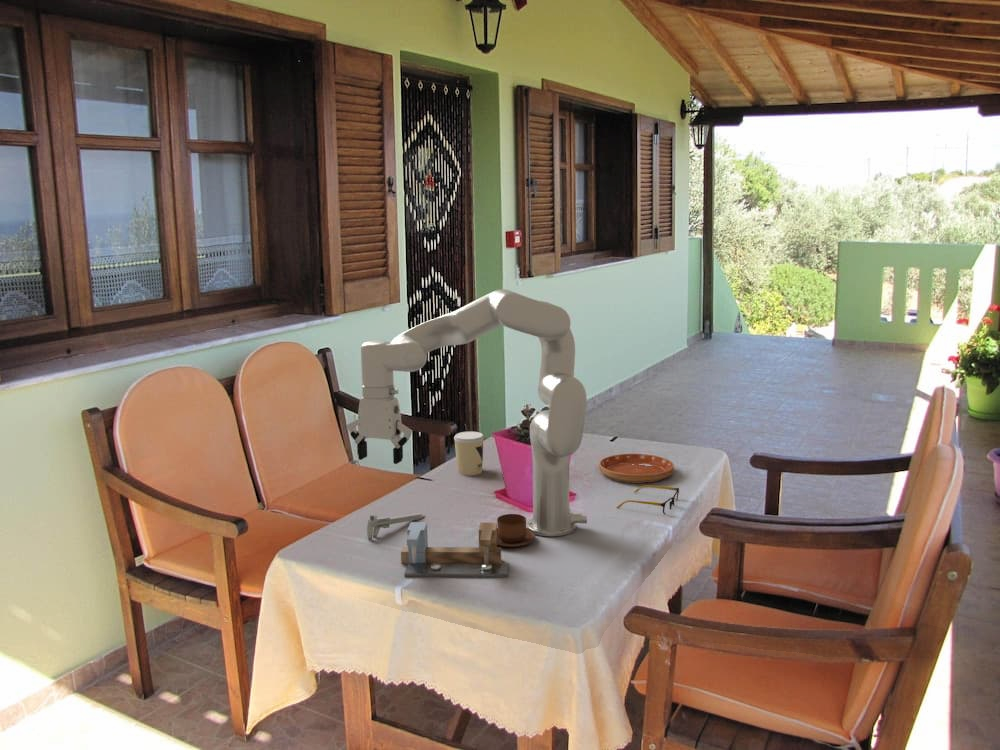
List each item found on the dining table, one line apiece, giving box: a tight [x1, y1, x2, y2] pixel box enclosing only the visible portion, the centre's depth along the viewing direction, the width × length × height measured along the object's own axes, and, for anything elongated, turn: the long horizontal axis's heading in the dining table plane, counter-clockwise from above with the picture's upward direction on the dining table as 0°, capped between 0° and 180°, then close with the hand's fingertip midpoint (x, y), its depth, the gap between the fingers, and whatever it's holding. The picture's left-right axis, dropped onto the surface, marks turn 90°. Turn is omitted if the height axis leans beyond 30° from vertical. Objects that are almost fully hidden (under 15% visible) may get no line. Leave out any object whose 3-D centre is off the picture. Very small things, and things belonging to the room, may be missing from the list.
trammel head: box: [406, 521, 429, 563], centre depth 221 cm, size 4×11×9 cm, turn 177°
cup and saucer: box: [496, 513, 537, 548], centre depth 235 cm, size 12×12×6 cm
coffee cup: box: [453, 431, 485, 477], centre depth 291 cm, size 9×9×12 cm
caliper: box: [366, 512, 426, 540], centre depth 246 cm, size 21×1×6 cm, turn 142°
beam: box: [400, 522, 502, 565], centre depth 220 cm, size 24×11×9 cm, turn 87°
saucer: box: [598, 453, 675, 484], centre depth 287 cm, size 23×23×4 cm
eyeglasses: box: [616, 484, 680, 515], centre depth 261 cm, size 14×14×4 cm
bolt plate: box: [403, 563, 510, 578], centre depth 218 cm, size 24×6×2 cm, turn 87°
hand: (380, 460), depth 227 cm, fingers open, 9 cm apart
